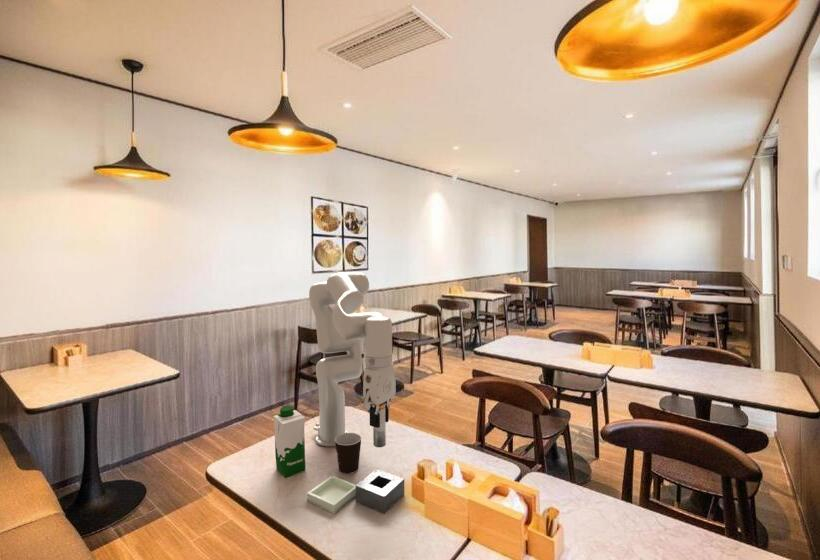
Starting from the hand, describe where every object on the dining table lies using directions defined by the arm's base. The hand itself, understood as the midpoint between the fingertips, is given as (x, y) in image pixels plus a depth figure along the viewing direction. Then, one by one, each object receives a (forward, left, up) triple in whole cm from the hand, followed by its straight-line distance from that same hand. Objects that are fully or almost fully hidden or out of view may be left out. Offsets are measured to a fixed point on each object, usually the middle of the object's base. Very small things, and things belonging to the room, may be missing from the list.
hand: (379, 423), depth 113 cm
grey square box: (0, 0, -22) cm, 22 cm away
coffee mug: (-19, +9, -23) cm, 31 cm away
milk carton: (-34, -3, -23) cm, 41 cm away
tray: (-12, -7, -22) cm, 26 cm away
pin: (0, 0, -6) cm, 6 cm away
